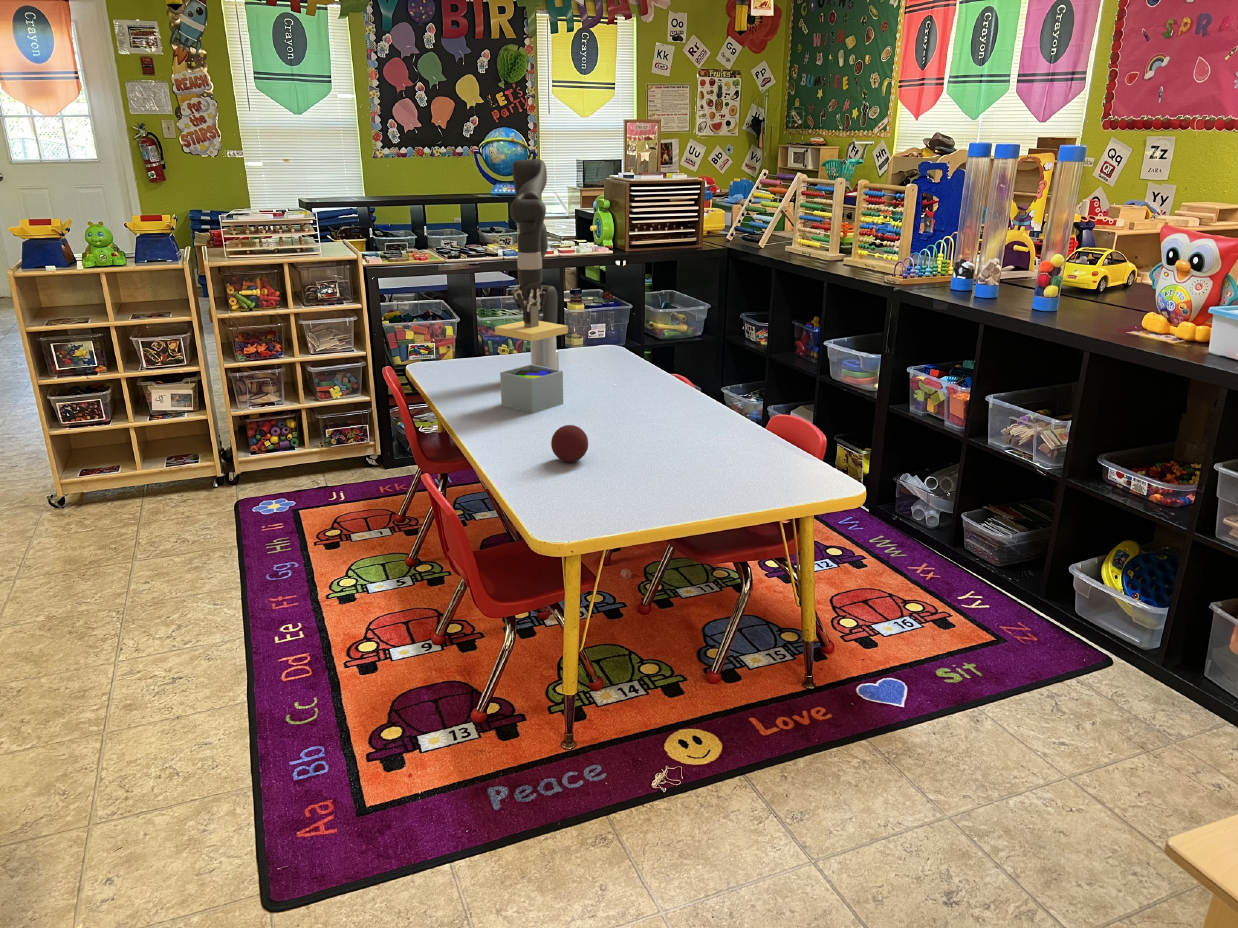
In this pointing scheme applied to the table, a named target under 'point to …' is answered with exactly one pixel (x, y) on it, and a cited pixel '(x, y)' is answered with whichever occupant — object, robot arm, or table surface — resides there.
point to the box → (531, 389)
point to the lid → (531, 328)
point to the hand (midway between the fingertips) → (531, 322)
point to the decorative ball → (569, 443)
